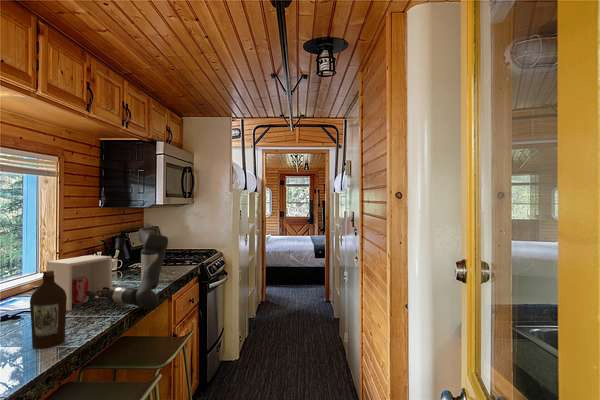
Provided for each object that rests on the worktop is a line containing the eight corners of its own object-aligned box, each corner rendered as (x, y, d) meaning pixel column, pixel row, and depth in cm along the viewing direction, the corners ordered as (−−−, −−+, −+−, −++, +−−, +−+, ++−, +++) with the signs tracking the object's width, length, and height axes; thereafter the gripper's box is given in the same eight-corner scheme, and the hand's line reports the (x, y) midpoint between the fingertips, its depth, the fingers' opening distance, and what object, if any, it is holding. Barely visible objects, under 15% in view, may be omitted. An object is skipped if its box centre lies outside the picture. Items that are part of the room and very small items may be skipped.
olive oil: (34, 340, 132) (34, 270, 132) (69, 335, 136) (68, 267, 136) (26, 351, 122) (25, 275, 122) (63, 346, 126) (63, 272, 126)
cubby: (47, 307, 173) (46, 261, 173) (90, 295, 194) (90, 254, 194) (69, 310, 167) (68, 263, 167) (111, 298, 188) (111, 256, 188)
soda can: (92, 301, 183) (91, 276, 183) (79, 305, 176) (79, 279, 176) (80, 300, 185) (80, 276, 185) (68, 304, 178) (68, 279, 178)
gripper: (132, 283, 177) (108, 280, 183) (106, 290, 164) (81, 286, 170) (132, 299, 177) (108, 295, 183) (106, 307, 164) (81, 303, 170)
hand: (95, 291), depth 176 cm, fingers open, 8 cm apart
